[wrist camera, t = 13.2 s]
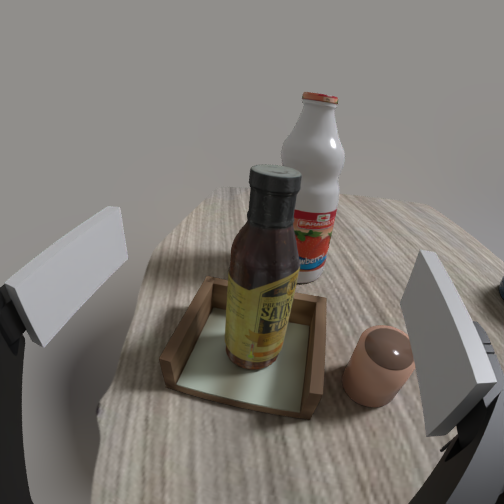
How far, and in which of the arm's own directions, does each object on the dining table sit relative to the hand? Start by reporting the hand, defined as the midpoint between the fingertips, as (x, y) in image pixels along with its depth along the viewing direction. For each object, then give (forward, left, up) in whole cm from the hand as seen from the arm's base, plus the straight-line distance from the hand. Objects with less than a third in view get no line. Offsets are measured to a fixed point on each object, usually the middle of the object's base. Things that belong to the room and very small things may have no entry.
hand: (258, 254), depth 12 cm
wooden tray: (-3, -11, -21) cm, 24 cm away
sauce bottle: (-3, -11, -20) cm, 23 cm away
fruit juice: (-13, -29, -21) cm, 38 cm away
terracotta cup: (-16, -5, -21) cm, 26 cm away
